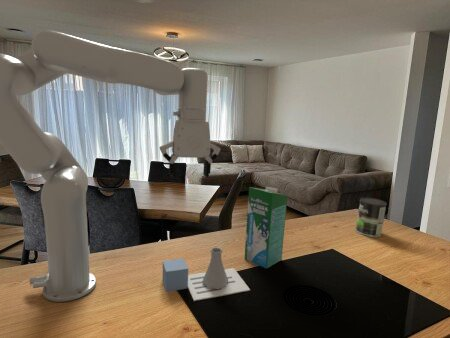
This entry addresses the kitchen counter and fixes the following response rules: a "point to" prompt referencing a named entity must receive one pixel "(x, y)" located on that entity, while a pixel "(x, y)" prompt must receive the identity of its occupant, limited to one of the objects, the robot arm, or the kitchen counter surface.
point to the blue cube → (175, 274)
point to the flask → (215, 271)
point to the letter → (203, 292)
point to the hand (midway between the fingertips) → (189, 176)
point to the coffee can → (370, 217)
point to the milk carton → (265, 226)
